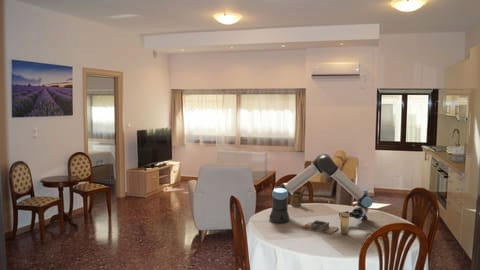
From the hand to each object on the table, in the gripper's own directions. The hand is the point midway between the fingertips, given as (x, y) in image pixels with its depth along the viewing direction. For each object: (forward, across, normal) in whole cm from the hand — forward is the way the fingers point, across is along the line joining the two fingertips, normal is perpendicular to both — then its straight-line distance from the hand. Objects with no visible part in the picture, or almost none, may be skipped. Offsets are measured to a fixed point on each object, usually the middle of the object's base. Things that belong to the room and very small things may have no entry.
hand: (349, 219), depth 274 cm
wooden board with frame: (+8, +18, -8) cm, 21 cm away
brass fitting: (+11, 0, -8) cm, 13 cm away
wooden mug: (-42, +58, -8) cm, 72 cm away
